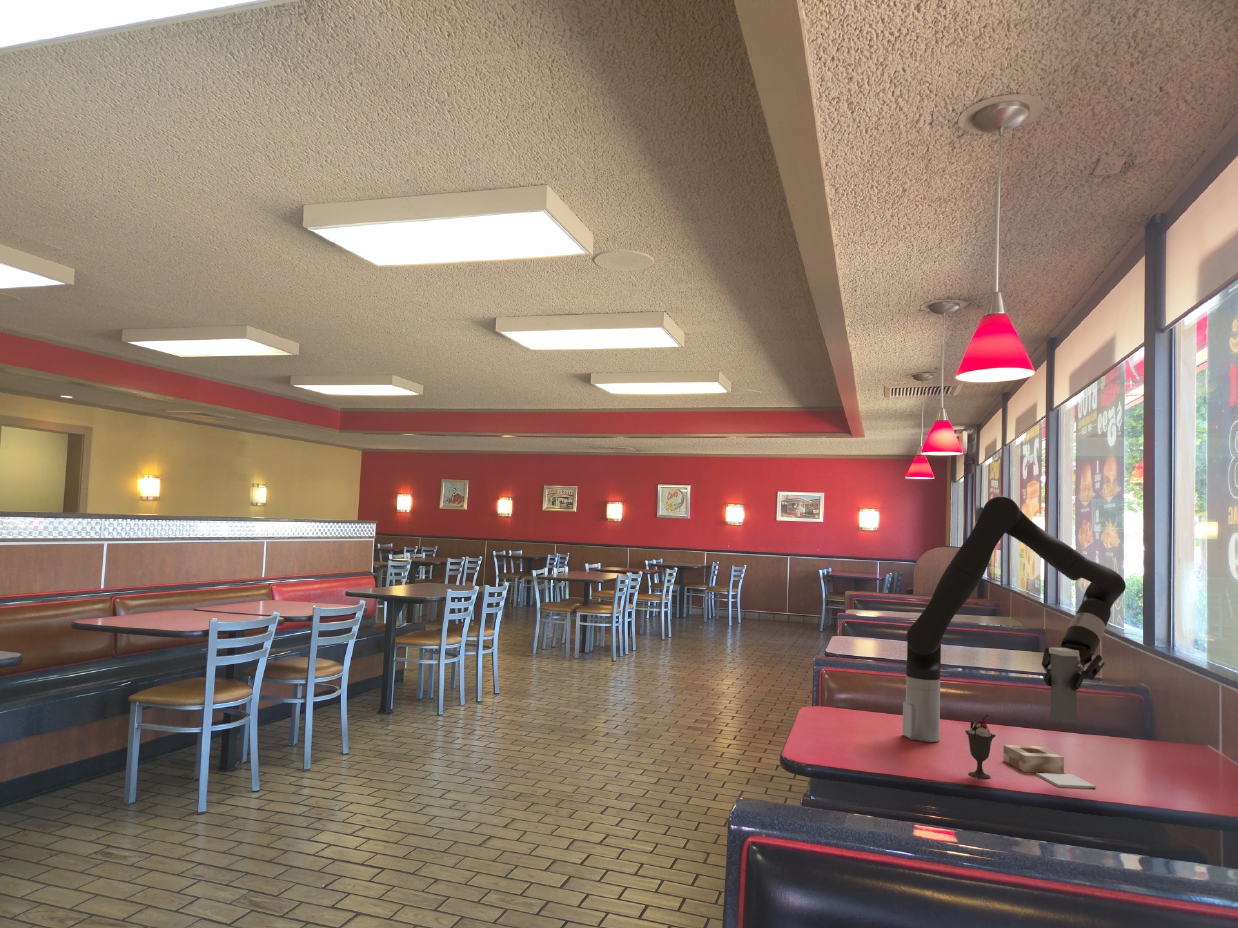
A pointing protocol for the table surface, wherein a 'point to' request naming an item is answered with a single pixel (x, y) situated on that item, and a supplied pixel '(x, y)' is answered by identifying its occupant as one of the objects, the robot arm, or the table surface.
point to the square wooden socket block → (1033, 759)
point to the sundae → (979, 745)
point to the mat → (1065, 780)
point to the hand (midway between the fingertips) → (1060, 685)
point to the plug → (1063, 684)
